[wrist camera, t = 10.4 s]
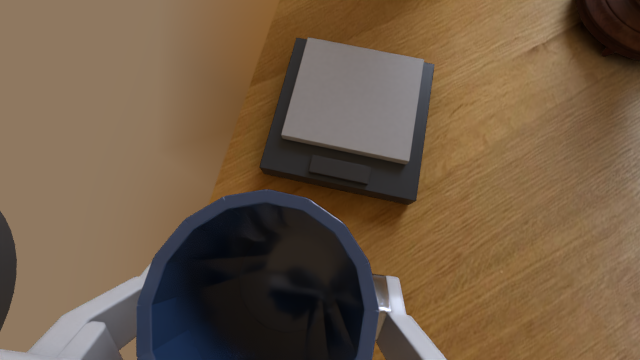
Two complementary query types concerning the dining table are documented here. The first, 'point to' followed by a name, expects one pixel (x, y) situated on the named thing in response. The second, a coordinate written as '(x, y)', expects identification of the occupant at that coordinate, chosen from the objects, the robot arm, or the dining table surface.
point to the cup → (258, 286)
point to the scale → (351, 120)
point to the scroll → (613, 24)
